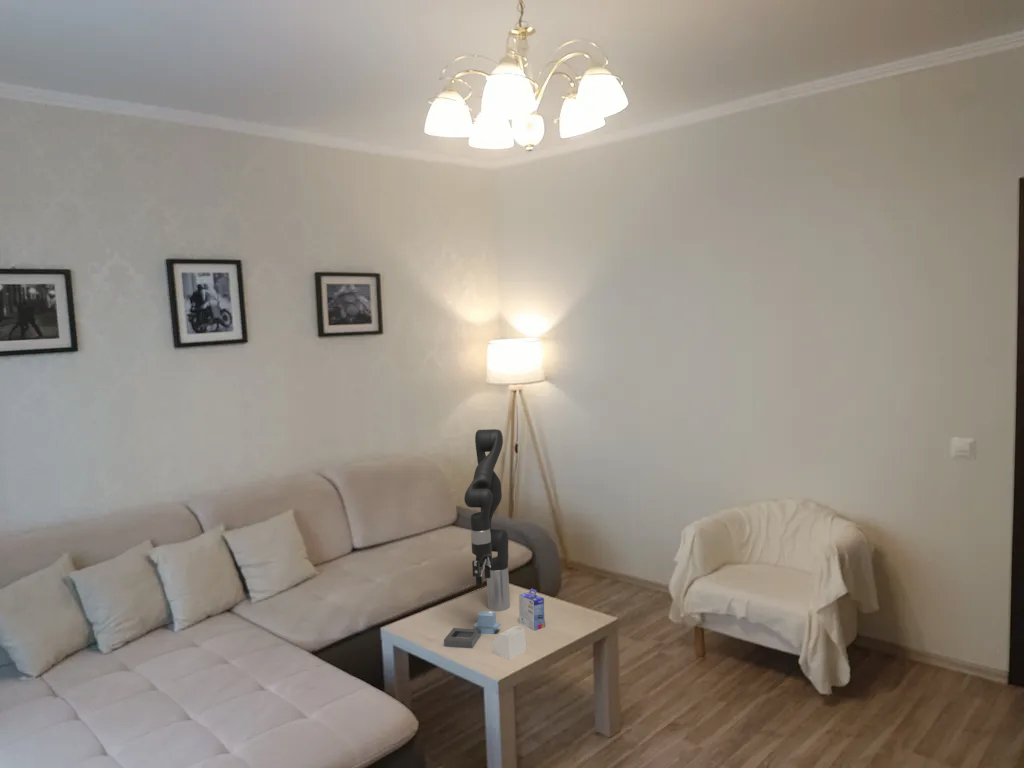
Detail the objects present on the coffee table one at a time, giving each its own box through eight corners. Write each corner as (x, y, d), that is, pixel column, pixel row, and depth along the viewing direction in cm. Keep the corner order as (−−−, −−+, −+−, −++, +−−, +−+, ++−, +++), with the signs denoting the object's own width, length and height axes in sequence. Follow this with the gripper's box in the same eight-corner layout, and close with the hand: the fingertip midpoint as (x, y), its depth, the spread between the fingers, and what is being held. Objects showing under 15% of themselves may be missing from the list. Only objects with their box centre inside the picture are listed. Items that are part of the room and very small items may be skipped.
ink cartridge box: (545, 628, 276) (544, 591, 275) (534, 632, 272) (533, 595, 272) (530, 621, 284) (528, 585, 283) (519, 624, 280) (517, 588, 279)
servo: (477, 629, 277) (476, 609, 277) (500, 631, 275) (499, 610, 275) (474, 634, 274) (473, 612, 273) (498, 635, 271) (497, 614, 271)
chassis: (453, 634, 274) (453, 627, 274) (481, 635, 271) (480, 629, 271) (444, 646, 263) (443, 639, 263) (472, 648, 261) (472, 641, 261)
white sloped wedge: (537, 645, 261) (536, 622, 260) (509, 659, 250) (508, 636, 250) (521, 639, 267) (520, 617, 266) (492, 653, 256) (491, 630, 255)
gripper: (479, 534, 278) (481, 574, 280) (464, 545, 265) (467, 588, 266) (497, 535, 276) (499, 576, 277) (483, 546, 262) (485, 589, 264)
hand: (483, 581), depth 272 cm, fingers open, 8 cm apart
